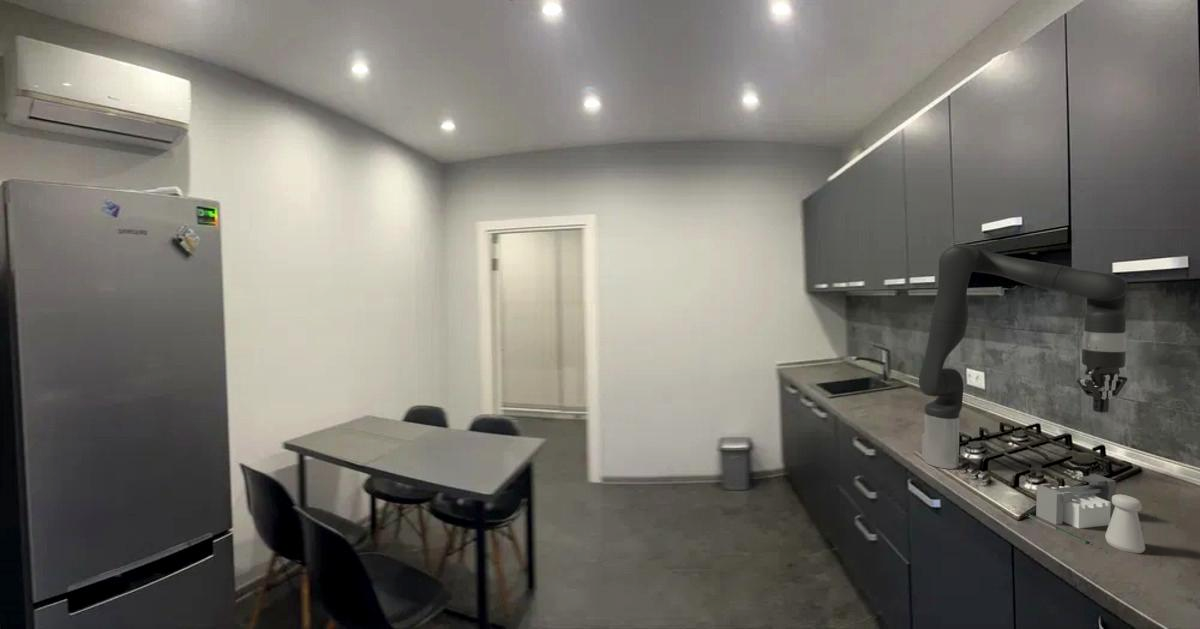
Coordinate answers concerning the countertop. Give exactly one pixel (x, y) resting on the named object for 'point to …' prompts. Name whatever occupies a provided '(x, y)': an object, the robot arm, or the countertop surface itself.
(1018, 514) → the countertop surface
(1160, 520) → the countertop surface
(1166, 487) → the countertop surface
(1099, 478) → the block
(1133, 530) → the salt shaker
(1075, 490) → the strap
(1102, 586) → the countertop surface
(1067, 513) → the heatsink base
